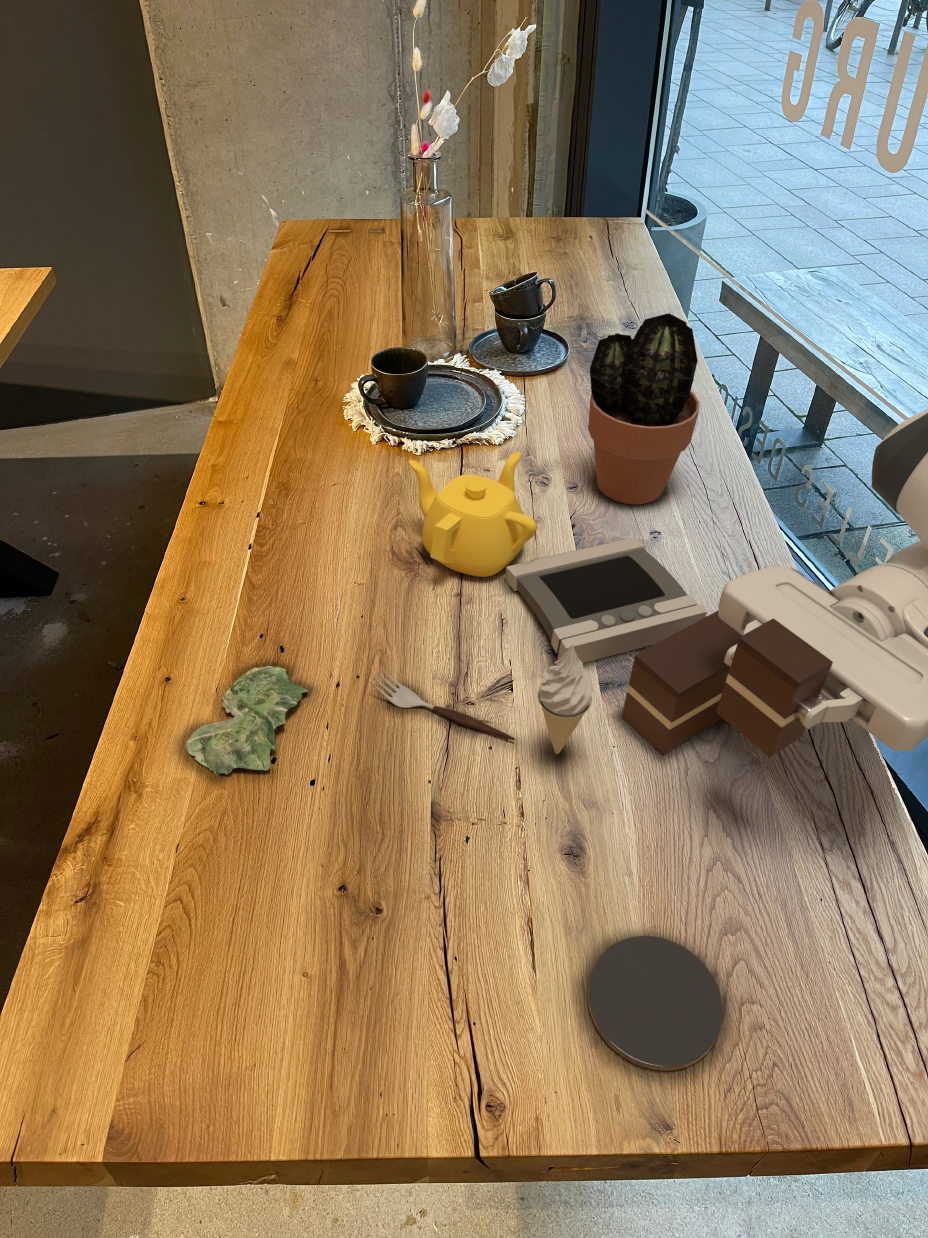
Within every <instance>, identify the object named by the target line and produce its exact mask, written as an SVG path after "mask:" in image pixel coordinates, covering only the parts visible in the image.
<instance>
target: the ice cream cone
mask: <svg viewBox="0 0 928 1238" xmlns="http://www.w3.org/2000/svg"><path fill="white" fill-rule="evenodd" d="M554 664H555V665H551V666H549V667H548V669H549V670H550V673H546V672H544V673H542V675H541V677H542V680H543V681H544V682H541V683H540V684H539V686H538V691H537V700H538V703H539V705H540V706H541V710H542V713H543V717H544V721H545V725H546V727H547V730H548V735H549V738H550V741H551V744H552V748H553V751H554V754H555V755H560V752H561V751H562V750H563V748H564V746H565V745H566V744H567V742H568V740H569V739H570V737H571V736H572V734H573V733H574V731H575V730H576V728H577V726H578V724H580V721H581V720H582V719H583V716H584V715H585V714H586V713H587V712H588V711H589V709H590V708H591V707H592V703H593V679H592V678H591V677H590V675H589V673H588V672H587V671H586V669H584V663H582V662H581V661H580V660H579V659H578V657H577V654H576V652H575V650H574V647H573V645H571V647H570V648H569V649H568V650H567V651H566V653H565V654H564V655H563V656H562V658H561V659H560V660H558V661H557V660H556V661H554Z"/></svg>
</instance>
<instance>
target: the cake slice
mask: <svg viewBox="0 0 928 1238" xmlns="http://www.w3.org/2000/svg"><path fill="white" fill-rule="evenodd" d="M832 664H833V661H831V660H830V659H828V658H827V657H826V656H824V655H823V654H822V653H820V652H819V651H818V650H816V649H815V648H813V647H812V646H811V645H809V644H808V643H807V642H805V641H804V640H802V639H801V638H800V637H798V636H797V635H796V634H794V633H793V632H792V631H790V630H789V629H787V628H786V627H785V626H783V625H782V624H781V623H779V622H778V621H776V620H775V619H774V618H773V619H771V620H769V621H767V622H766V623H764V624H762V625H760V626H758V627H757V628H755V629H753V630H751V631H749V632H748V633H746V634H744V635H742V636H741V637H739V640H738V644H737V647H736V650H735V653H734V656H733V660H732V663H731V666H730V669H729V673H728V676H727V679H726V682H725V685H724V689H723V692H722V695H721V698H720V701H719V705H718V708H717V711H716V713H717V714H719V715H720V716H721V717H722V718H723V719H722V720H724V721H725V722H727V723H728V724H729V725H730V726H731V727H733V728H734V729H735V730H736V731H737V732H738V733H740V735H741V736H743V737H744V738H745V739H746V740H747V741H748V742H750V743H751V744H752V745H754V746H755V747H756V748H757V749H758V750H760V751H761V753H763V754H764V755H765V756H766V757H768V758H772V757H774V756H775V755H777V754H778V753H780V752H781V751H783V750H784V749H786V748H787V747H789V746H790V745H792V744H793V743H795V742H797V741H798V740H800V739H801V738H802V737H803V735H804V733H805V730H806V729H807V728H806V727H805V726H803V725H802V724H801V723H800V722H798V721H797V720H796V719H795V718H793V716H794V713H796V708H797V707H798V705H799V704H800V703H801V702H803V701H806V700H807V699H808V698H809V697H811V696H812V695H813V696H814V697H816V698H817V699H818V700H819V696H821V695H820V692H821V690H822V687H823V685H824V683H825V680H826V678H827V675H828V673H829V671H830V668H831V666H832Z"/></svg>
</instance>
